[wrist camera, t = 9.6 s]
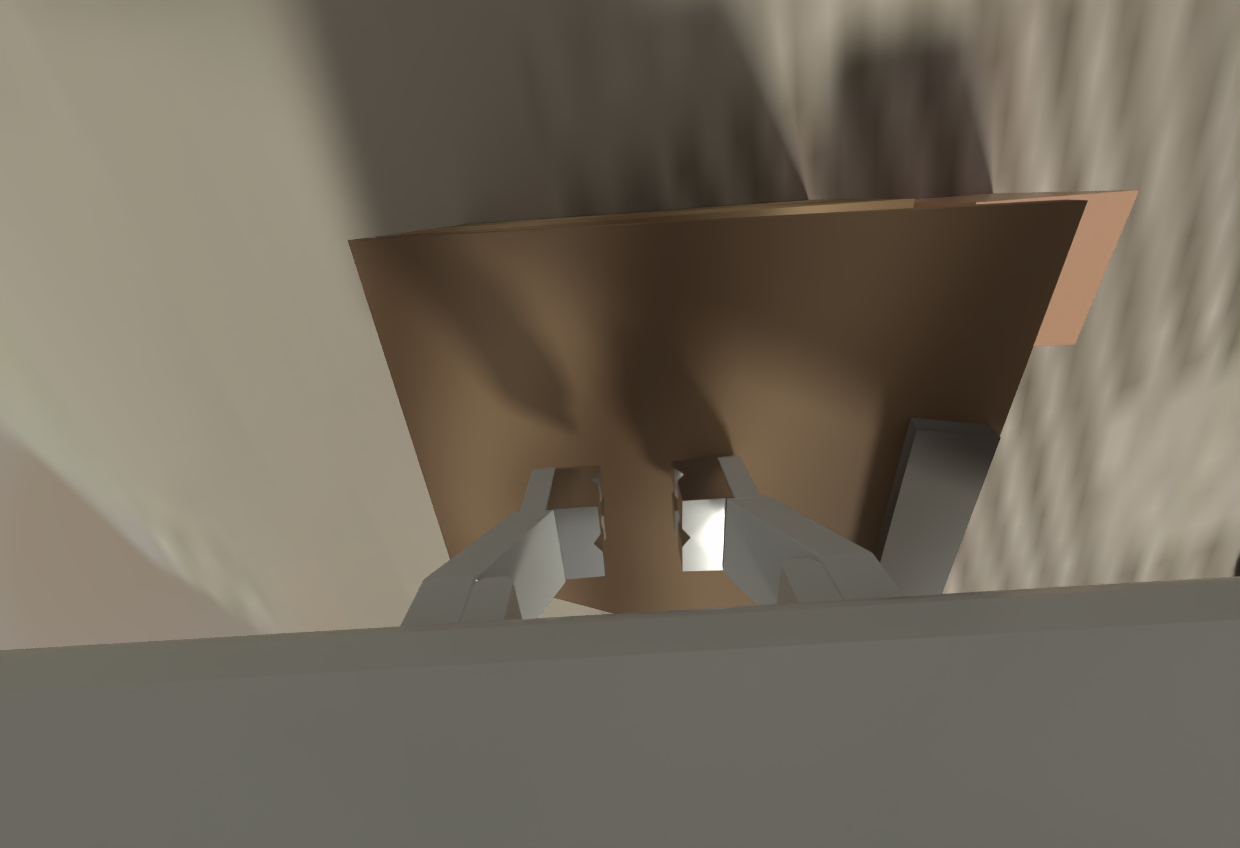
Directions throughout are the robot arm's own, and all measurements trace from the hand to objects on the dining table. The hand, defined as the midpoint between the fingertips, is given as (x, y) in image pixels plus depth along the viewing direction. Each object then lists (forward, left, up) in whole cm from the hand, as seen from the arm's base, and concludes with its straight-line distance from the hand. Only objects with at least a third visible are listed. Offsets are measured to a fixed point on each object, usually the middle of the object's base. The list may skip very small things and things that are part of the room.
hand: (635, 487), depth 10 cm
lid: (+6, 0, -4) cm, 8 cm away
